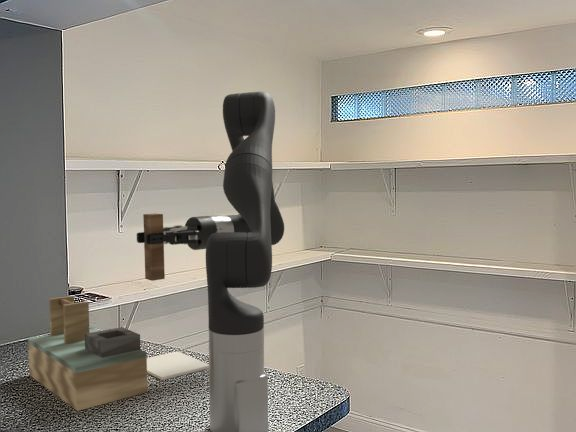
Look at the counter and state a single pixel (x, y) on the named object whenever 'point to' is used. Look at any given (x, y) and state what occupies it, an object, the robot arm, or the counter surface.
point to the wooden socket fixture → (86, 358)
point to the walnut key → (153, 248)
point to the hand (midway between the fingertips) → (141, 238)
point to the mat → (173, 365)
